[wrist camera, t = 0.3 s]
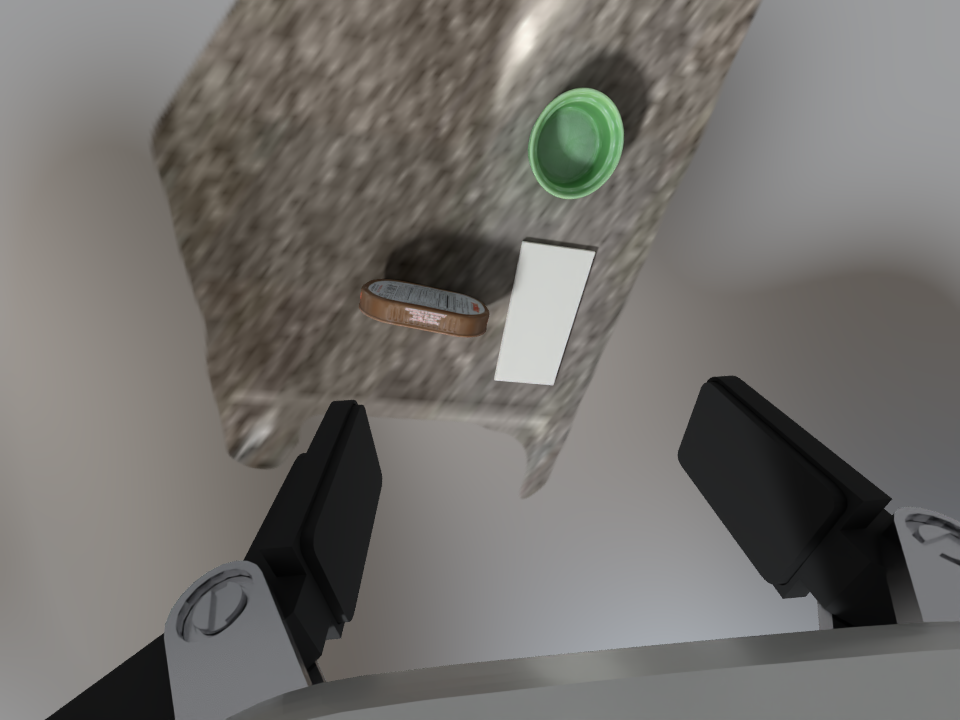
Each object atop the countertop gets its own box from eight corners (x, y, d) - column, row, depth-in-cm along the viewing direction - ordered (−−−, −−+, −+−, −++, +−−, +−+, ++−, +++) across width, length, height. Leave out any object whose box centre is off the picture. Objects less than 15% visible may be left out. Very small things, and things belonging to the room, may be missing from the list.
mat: (522, 240, 41) (523, 242, 41) (593, 250, 42) (595, 252, 42) (494, 377, 52) (494, 380, 51) (552, 382, 53) (553, 385, 52)
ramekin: (536, 82, 34) (546, 74, 30) (621, 106, 35) (641, 102, 31) (512, 183, 38) (519, 188, 34) (588, 201, 40) (602, 207, 36)
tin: (367, 292, 44) (350, 322, 37) (369, 268, 42) (351, 294, 35) (483, 316, 46) (488, 347, 39) (488, 294, 45) (495, 323, 38)
